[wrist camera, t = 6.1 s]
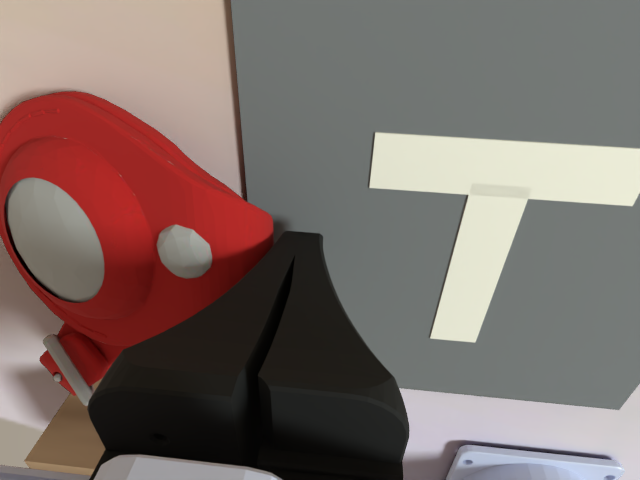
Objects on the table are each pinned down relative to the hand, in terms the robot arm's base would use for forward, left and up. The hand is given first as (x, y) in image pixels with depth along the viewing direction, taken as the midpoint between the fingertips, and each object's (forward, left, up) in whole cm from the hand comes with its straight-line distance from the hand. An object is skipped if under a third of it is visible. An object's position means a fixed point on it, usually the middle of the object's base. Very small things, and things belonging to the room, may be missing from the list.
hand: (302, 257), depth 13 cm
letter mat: (0, -6, -1) cm, 6 cm away
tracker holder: (-1, +7, -2) cm, 7 cm away
